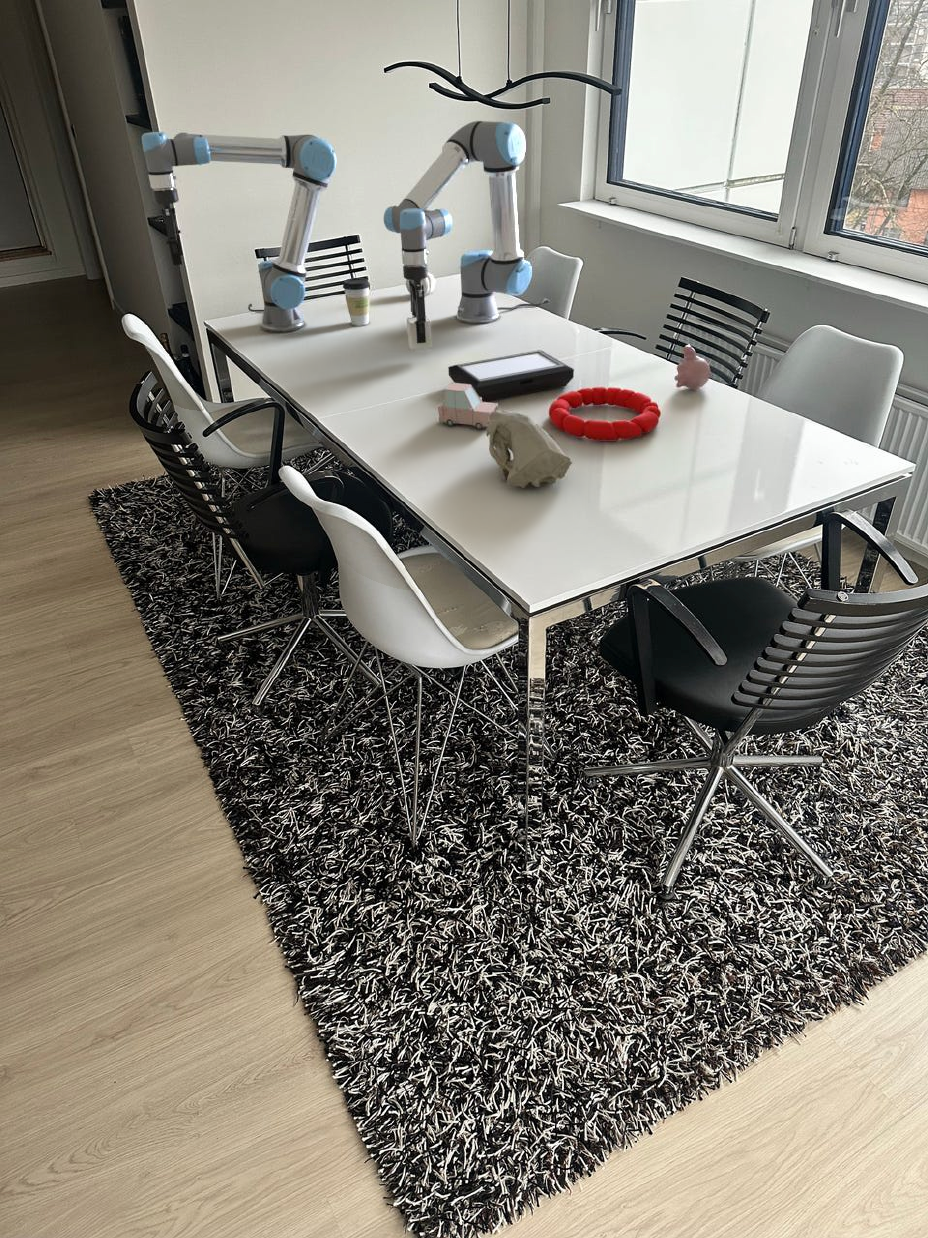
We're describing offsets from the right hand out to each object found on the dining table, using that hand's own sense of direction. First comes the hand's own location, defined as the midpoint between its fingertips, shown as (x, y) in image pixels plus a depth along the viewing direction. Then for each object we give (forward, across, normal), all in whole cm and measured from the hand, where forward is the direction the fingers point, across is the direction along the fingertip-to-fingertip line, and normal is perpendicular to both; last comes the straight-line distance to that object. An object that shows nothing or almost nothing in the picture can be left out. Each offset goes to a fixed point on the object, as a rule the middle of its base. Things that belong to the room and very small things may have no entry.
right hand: (419, 339), depth 286 cm
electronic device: (+7, -31, -22) cm, 39 cm away
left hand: (-23, +36, +72) cm, 84 cm away
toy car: (+7, -56, -3) cm, 56 cm away
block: (+2, 0, 0) cm, 2 cm away
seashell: (+8, +77, -15) cm, 79 cm away
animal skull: (+7, -89, -9) cm, 90 cm away
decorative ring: (+7, -66, -39) cm, 77 cm away
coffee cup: (+7, +48, +14) cm, 51 cm away
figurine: (+7, -49, -72) cm, 87 cm away
